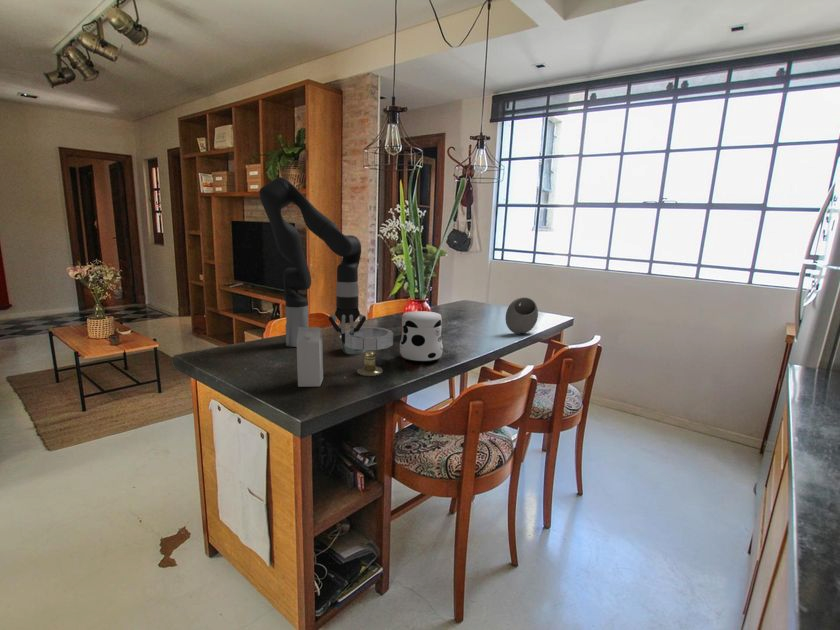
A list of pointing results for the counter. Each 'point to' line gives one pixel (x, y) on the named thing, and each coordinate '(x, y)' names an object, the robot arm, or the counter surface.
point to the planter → (521, 315)
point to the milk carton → (309, 356)
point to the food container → (350, 350)
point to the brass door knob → (369, 365)
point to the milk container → (421, 336)
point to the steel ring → (369, 338)
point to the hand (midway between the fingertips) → (347, 343)
